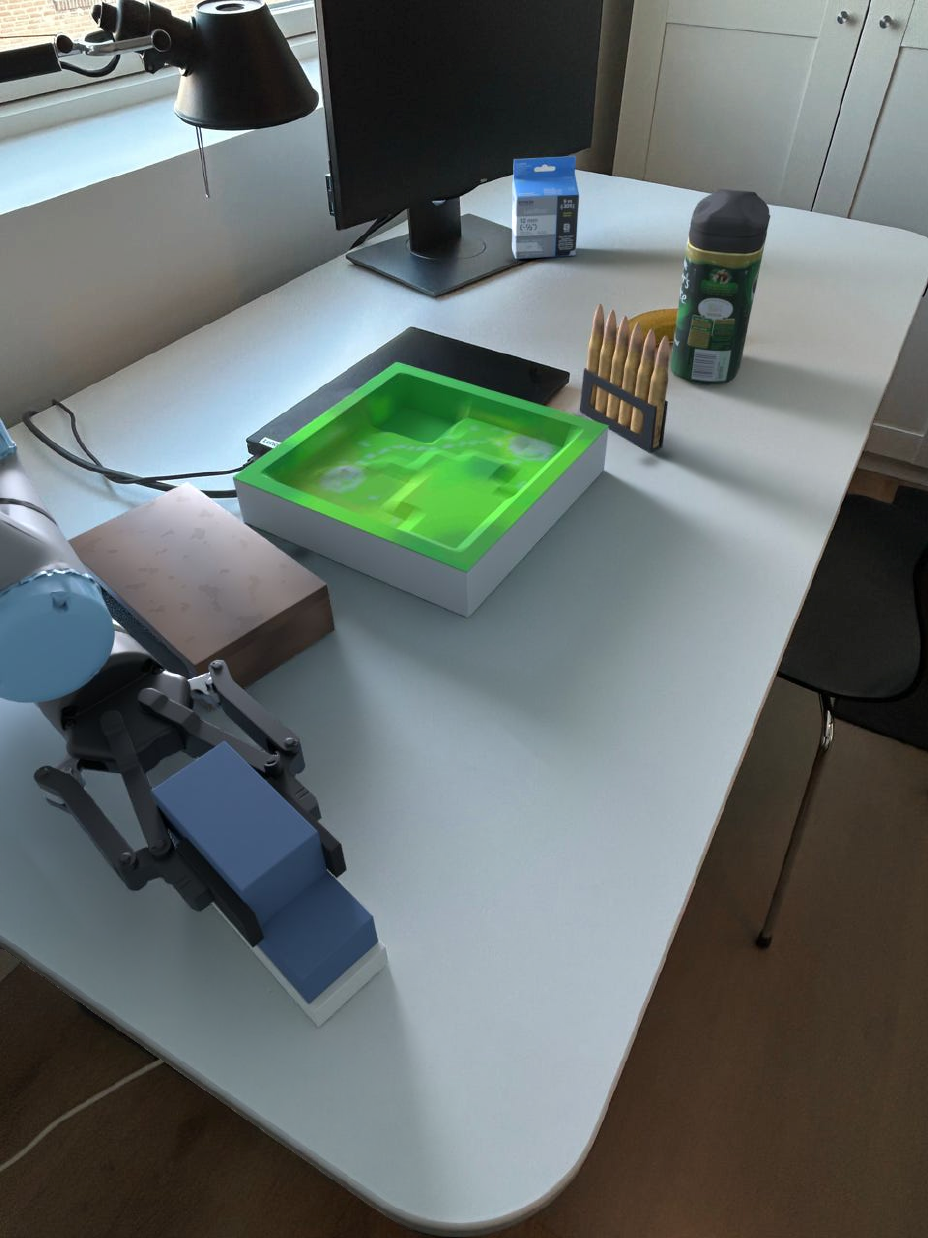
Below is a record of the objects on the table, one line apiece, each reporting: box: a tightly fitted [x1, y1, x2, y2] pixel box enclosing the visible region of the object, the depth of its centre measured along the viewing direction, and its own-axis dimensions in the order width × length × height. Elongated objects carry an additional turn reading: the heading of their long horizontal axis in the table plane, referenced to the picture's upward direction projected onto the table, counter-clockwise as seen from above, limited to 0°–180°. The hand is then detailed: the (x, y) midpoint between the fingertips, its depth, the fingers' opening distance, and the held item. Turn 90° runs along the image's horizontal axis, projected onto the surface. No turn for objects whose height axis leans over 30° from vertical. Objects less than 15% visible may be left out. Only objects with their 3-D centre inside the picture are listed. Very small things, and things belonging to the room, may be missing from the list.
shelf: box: [67, 481, 336, 712], centre depth 72 cm, size 12×20×5 cm, turn 45°
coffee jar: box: [670, 188, 771, 386], centre depth 95 cm, size 10×8×19 cm
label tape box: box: [511, 155, 580, 260], centre depth 123 cm, size 9×4×12 cm, turn 95°
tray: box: [232, 361, 609, 619], centre depth 83 cm, size 25×25×5 cm
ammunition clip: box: [579, 303, 670, 454], centre depth 88 cm, size 11×2×12 cm, turn 37°
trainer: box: [151, 741, 389, 1028], centre depth 50 cm, size 5×14×9 cm, turn 45°
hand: (297, 894), depth 47 cm, fingers closed on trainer, 5 cm apart
